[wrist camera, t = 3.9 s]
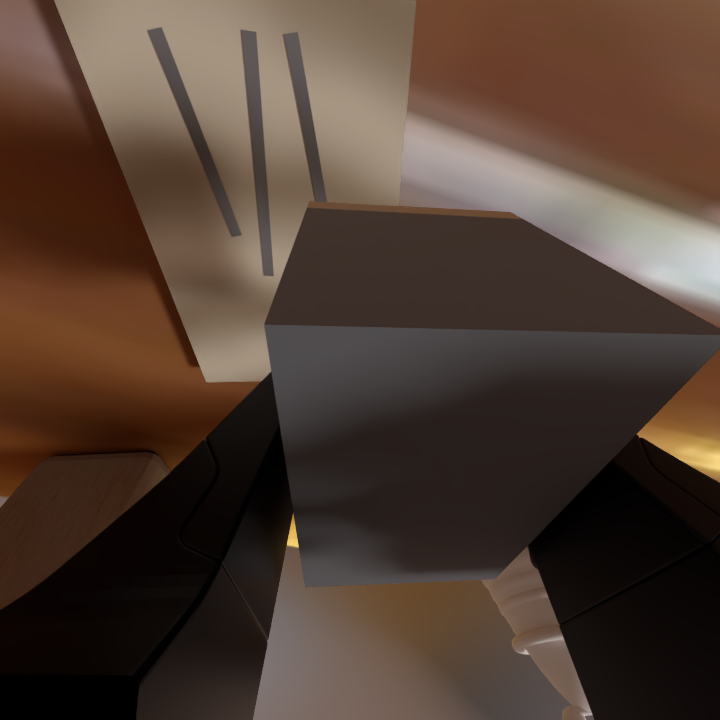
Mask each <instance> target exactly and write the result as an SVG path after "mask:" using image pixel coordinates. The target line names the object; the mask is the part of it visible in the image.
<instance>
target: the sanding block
mask: <svg viewBox="0 0 720 720" xmlns="http://www.w3.org/2000/svg"><path fill="white" fill-rule="evenodd" d="M264 328H265V334H266V340H267V347H268V353H269V360H270V366H271V372H272V379H273V385H274V391H275V398H276V404H277V411H278V417H279V423H280V430H281V436H282V442H283V449H284V455H285V462H286V468H287V474H288V481H289V487H290V493H291V500H292V506H293V513H294V519H295V525H296V532H297V538H298V544H299V550H300V557H301V564H302V570H303V576H304V583H305V587H320V586H342V585H343V586H344V585H368V584H390V583H391V584H392V583H415V582H439V581H463V580H488V579H496V578H497V577H498V576H499V575H500V574H501V573H502V572H503V571H504V570H505V569H506V568H507V566H508V565H509V564H510V563H511V562H512V561H513V560H514V559H515V558H516V557H517V556H518V555H519V554H520V553H521V552H522V551H523V550H524V549H525V548H526V547H527V546H528V545H529V544H530V543H531V542H532V541H533V540H534V539H535V538H536V537H537V536H538V535H539V534H540V533H541V532H542V531H543V530H544V529H545V527H546V526H547V525H548V524H549V523H550V522H551V521H552V520H553V519H554V518H555V517H556V516H557V515H558V514H559V513H560V512H561V511H562V510H563V509H564V508H565V507H566V506H567V505H568V504H569V503H570V502H571V501H572V500H573V499H574V498H575V497H576V496H577V495H578V494H579V493H580V492H581V491H582V490H583V488H584V487H585V486H586V485H587V484H588V483H589V482H590V481H591V480H592V479H593V478H594V477H595V476H596V475H597V474H598V473H599V472H600V471H601V470H602V469H603V468H604V467H605V466H606V465H607V464H608V463H609V462H610V461H611V460H612V459H613V458H614V457H615V456H616V455H617V454H618V453H619V452H620V450H621V449H622V448H623V447H624V446H625V445H626V444H627V443H628V442H629V441H630V440H631V439H632V438H633V437H634V436H635V435H636V434H637V433H638V432H639V431H640V430H641V429H642V428H643V427H644V426H645V425H646V424H647V423H648V422H649V421H650V420H651V419H652V418H653V417H654V416H655V415H656V414H657V413H658V411H659V410H660V409H661V408H662V407H663V406H664V405H665V404H666V403H667V402H668V401H669V400H670V399H671V398H672V397H673V396H674V395H675V394H676V393H677V392H678V391H679V390H680V389H681V388H682V387H683V386H684V385H685V384H686V383H687V382H688V381H689V380H690V379H691V378H692V377H693V376H694V375H695V374H696V372H697V371H698V370H699V369H700V368H701V367H702V366H703V365H704V364H705V363H706V362H707V361H708V360H709V359H710V358H711V357H712V356H713V355H714V354H715V353H716V352H717V351H718V350H719V349H720V328H718V327H716V326H714V325H712V324H711V323H709V322H707V321H705V320H703V319H702V318H700V317H698V316H696V315H694V314H693V313H691V312H689V311H687V310H685V309H684V308H682V307H680V306H678V305H676V304H675V303H673V302H671V301H669V300H667V299H666V298H664V297H662V296H660V295H658V294H657V293H655V292H653V291H651V290H649V289H648V288H646V287H644V286H642V285H640V284H639V283H637V282H635V281H633V280H631V279H630V278H628V277H626V276H624V275H622V274H621V273H619V272H617V271H615V270H613V269H612V268H610V267H608V266H606V265H604V264H603V263H601V262H599V261H597V260H595V259H594V258H592V257H590V256H588V255H586V254H585V253H583V252H581V251H579V250H577V249H576V248H574V247H572V246H570V245H568V244H567V243H565V242H563V241H561V240H559V239H558V238H556V237H554V236H552V235H550V234H549V233H547V232H545V231H543V230H541V229H540V228H538V227H536V226H534V225H532V224H531V223H529V222H527V221H525V220H523V219H522V218H520V217H518V216H516V215H514V214H513V213H511V212H498V211H480V210H461V209H443V208H425V207H406V206H388V205H370V204H351V203H333V202H315V201H309V203H308V206H307V209H306V212H305V214H304V217H303V220H302V222H301V225H300V228H299V231H298V233H297V236H296V239H295V242H294V244H293V247H292V250H291V252H290V255H289V258H288V261H287V263H286V266H285V269H284V272H283V274H282V277H281V280H280V282H279V285H278V288H277V291H276V293H275V296H274V299H273V302H272V304H271V307H270V310H269V312H268V315H267V318H266V321H265V323H264Z"/></svg>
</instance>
